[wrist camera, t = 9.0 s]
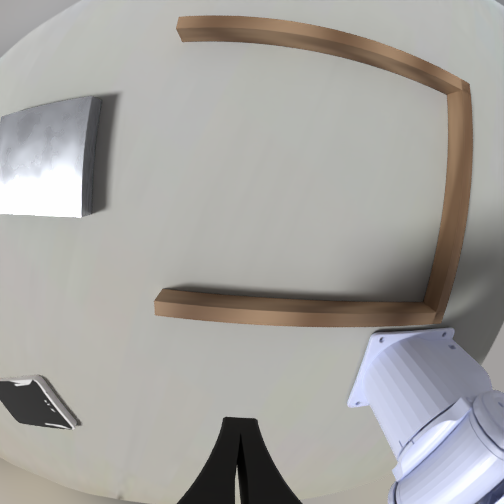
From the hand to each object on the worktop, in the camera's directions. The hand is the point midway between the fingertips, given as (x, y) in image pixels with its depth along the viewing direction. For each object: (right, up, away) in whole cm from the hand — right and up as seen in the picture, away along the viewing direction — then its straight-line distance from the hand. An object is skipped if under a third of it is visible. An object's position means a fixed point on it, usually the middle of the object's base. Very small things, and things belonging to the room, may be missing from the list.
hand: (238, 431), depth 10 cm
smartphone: (-28, -11, +13) cm, 32 cm away
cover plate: (-15, +15, +6) cm, 22 cm away
